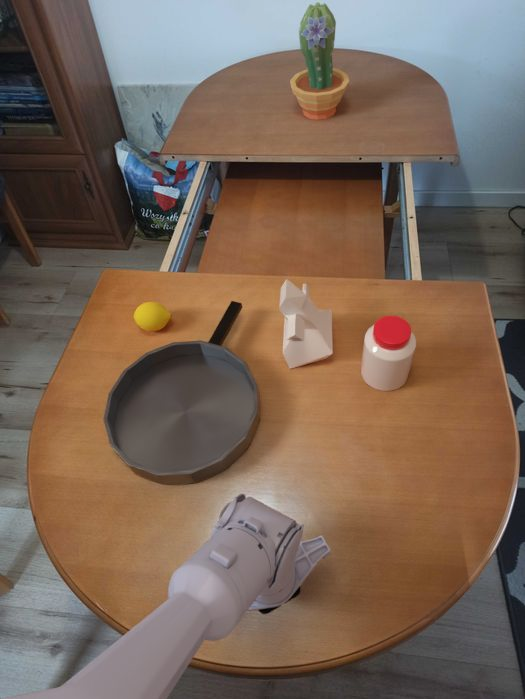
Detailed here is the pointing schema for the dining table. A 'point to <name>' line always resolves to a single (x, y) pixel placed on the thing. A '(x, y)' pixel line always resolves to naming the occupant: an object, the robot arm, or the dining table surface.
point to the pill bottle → (387, 353)
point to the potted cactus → (318, 65)
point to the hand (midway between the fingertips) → (275, 592)
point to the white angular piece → (304, 327)
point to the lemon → (151, 316)
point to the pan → (184, 409)
